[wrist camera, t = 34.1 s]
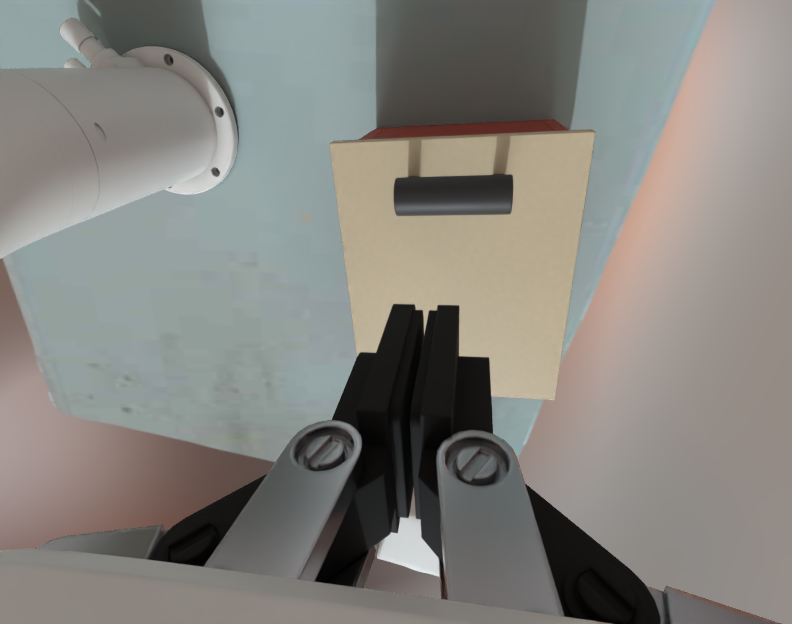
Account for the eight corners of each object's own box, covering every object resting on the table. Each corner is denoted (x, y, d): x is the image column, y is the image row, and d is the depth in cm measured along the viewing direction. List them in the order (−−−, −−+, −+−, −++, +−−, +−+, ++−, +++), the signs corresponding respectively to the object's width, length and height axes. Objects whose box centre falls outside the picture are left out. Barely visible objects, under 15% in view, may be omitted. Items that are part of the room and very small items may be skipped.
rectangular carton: (484, 423, 53) (486, 537, 40) (462, 469, 58) (458, 585, 45) (413, 403, 53) (393, 510, 40) (397, 450, 58) (375, 560, 45)
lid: (333, 140, 26) (303, 156, 22) (592, 129, 24) (620, 144, 19) (363, 382, 36) (346, 429, 31) (553, 392, 33) (565, 445, 28)
